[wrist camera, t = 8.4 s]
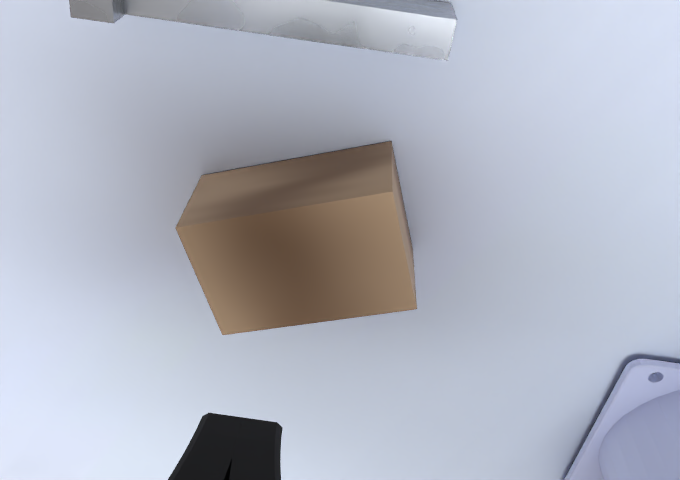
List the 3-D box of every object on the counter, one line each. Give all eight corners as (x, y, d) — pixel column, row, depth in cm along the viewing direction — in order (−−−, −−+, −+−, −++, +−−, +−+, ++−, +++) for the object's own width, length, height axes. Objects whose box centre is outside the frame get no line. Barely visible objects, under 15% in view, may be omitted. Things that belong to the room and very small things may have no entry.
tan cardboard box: (391, 141, 19) (392, 191, 16) (412, 249, 21) (416, 309, 18) (201, 175, 20) (175, 227, 17) (241, 275, 22) (222, 335, 19)
